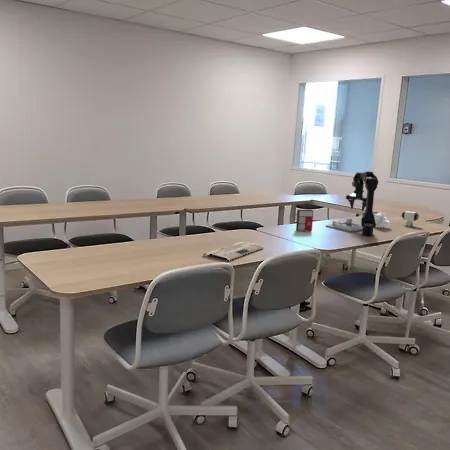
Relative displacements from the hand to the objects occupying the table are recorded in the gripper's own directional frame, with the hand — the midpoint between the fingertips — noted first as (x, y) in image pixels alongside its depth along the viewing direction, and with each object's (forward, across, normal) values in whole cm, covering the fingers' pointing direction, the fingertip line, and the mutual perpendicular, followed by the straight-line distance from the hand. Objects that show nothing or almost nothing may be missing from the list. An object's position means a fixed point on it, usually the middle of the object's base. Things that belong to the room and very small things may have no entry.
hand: (357, 209), depth 350 cm
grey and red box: (+13, -12, -46) cm, 49 cm away
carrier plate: (+13, -1, -12) cm, 18 cm away
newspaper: (+14, +4, -127) cm, 128 cm away
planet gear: (+12, +2, -12) cm, 17 cm away
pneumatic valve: (+13, +20, +43) cm, 49 cm away
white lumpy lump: (+13, +12, +15) cm, 23 cm away
